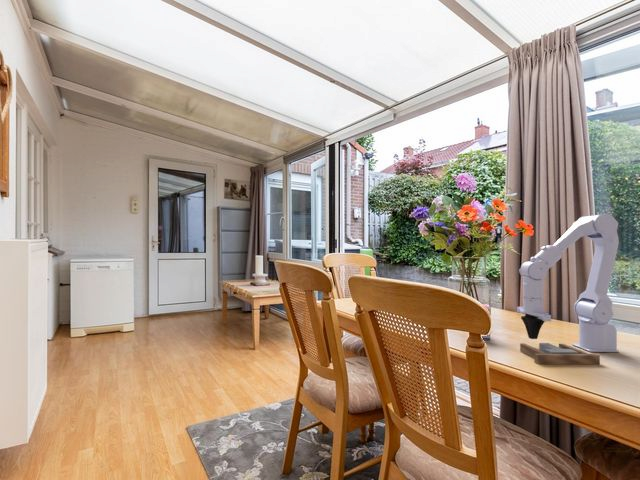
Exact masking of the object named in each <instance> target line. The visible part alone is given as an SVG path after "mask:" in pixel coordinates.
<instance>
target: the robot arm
mask: <svg viewBox="0 0 640 480" xmlns="http://www.w3.org/2000/svg"><path fill="white" fill-rule="evenodd" d="M618 227H619V222H618V221H617V220H616V219H615V217H613V216H612V214H609V213H600V214H593V215H583V216H580V217H579V218H578V219H577V220H576V221H574V222H572V225H571V227H569V228H568V229H567V230H566V232H564V233H563V235H561V237H560V238H558V239H557V240H556V241H555V242H554V244H552V245H551V244H548V245H544V246H541V247H540V251H538V252H537V254H535V255H534V256H531V257H530V258H529V261H525V262H522V264H521V266H520V268H519V269H518V273H519V274H520V276H521V277H522V306H516V313H519V314H524V315H522V316H520V319H521V320H522V322H523V324H524V326H525V329H526V333H527V336H528V339H531V340H537V339H538V337H539V334H540V332H541V331H540V330H541V328H542V327H543V325H544V324H545V323H546V322H552V315H551V314H548V313H547V312H545V311H544V278H546V277H547V275H548V271H549V269H550V268H551V267H553V266H554V265H555V264H556V263H558V261H559V260H561V259H562V258H563V252H564V251H565V250H566V249H568V248H570V247H571V245H573V244H574V243H575V242H577V241H578V240H579V239H580V238H582V237H587V238H588V239H589V240H591V241H592V242H593V243H594V244H595V248H594V249H595V250H594V253H593V258H592V261H591V265H590V266H591V267H590V271H589V275H588V279H587V285H586V289H585V290H584V291H582V293H580V294H579V297H578V299H577V301H575V302H574V304H573V305H574V306H573V311H574V314H575V315H576V316H577V319H578V342H577V343H576V342H575V343H571V344H572V346H575V347H577V348H579V349H582V350H585V351H587V352H591V353H619V352H620V351H619V350H618V349H617V348H618V347H617V345H618V343H617V341H618V340H617V339H618V338H617V337H618V334H617V333H618V332H617V329H616V327H615V325H614V324H613V323H611V322H610V321H611V320H612V318H613V317H614V316H613V315H614V311H613V308H612V307H613V301H612V299H611V298H610V297H609V296H608V291H609V287H610V283H611V279H612V273H613V270H614V265H615V262H616V257H617V254H618V253H617V252H618V249H619V245H620V243H619V242H620V241H619V235H618Z"/></svg>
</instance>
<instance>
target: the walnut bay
mask: <svg viewBox="0 0 640 480" xmlns="http://www.w3.org/2000/svg"><path fill="white" fill-rule="evenodd" d="M519 346H520V349H519V350H520V352H521V353H523V354H525V355H527V356H529V357H530V358H533V359H534V363H535V364H537V365H538V364H539V365H600V364H601V360H600V359H601V358H600V357H601V356H600V354H597V353H588V352H586V351H583V350H581V349H578V348H576V347H573V346H570V345H568V344H566V343H558V347H559V348H561V349H572V350H574V351H577V352H578V354H546V353H544V352H542V351H540V350H539V348H536V347H533V346H531V345H529V344H526V343H525V342H523V343H522V342H521V343H519Z"/></svg>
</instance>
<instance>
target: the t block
mask: <svg viewBox="0 0 640 480" xmlns="http://www.w3.org/2000/svg"><path fill="white" fill-rule="evenodd" d="M538 343H539V345H538V347H539V348H538V350H540V351H542V352H544V353H546V354H578V352H577V351H574V350H572V349H561V348H559V346H556V345H554V344H552V343H549V342H538Z"/></svg>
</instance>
